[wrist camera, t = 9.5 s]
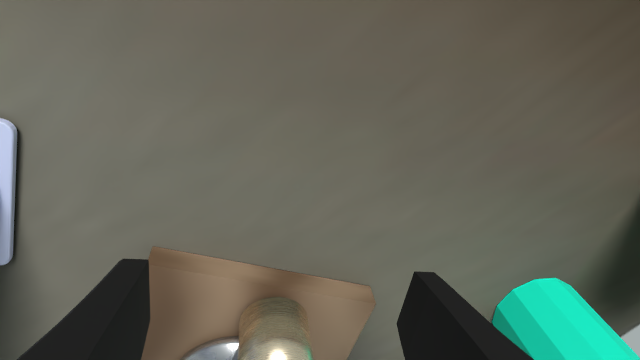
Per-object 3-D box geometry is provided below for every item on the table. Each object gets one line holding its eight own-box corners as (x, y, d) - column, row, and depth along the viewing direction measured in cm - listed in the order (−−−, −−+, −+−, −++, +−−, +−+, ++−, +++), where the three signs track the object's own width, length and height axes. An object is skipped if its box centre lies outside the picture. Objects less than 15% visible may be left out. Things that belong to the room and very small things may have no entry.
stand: (120, 399, 27) (112, 424, 26) (152, 246, 22) (145, 266, 21) (304, 415, 31) (306, 437, 29) (369, 286, 26) (376, 306, 24)
